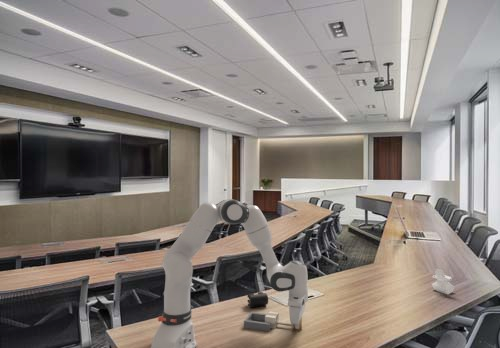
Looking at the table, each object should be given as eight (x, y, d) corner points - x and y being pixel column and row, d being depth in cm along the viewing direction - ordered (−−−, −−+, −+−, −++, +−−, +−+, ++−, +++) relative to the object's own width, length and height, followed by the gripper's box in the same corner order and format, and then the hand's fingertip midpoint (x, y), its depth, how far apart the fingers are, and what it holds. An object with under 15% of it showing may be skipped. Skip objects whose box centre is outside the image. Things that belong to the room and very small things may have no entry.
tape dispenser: (437, 286, 212) (437, 265, 212) (458, 293, 199) (458, 271, 199) (428, 288, 209) (427, 266, 209) (448, 295, 196) (448, 272, 196)
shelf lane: (269, 331, 153) (269, 324, 153) (244, 327, 157) (243, 321, 157) (275, 321, 164) (275, 315, 164) (251, 317, 168) (251, 311, 168)
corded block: (300, 332, 151) (300, 321, 151) (264, 326, 158) (264, 316, 158) (303, 327, 157) (302, 316, 157) (268, 321, 163) (268, 311, 163)
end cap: (251, 309, 178) (251, 297, 178) (246, 305, 184) (246, 292, 184) (268, 307, 181) (268, 294, 181) (263, 302, 188) (263, 290, 188)
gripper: (295, 288, 166) (295, 315, 166) (287, 303, 146) (287, 334, 146) (308, 289, 164) (308, 317, 164) (301, 304, 144) (301, 336, 144)
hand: (298, 325), depth 155 cm, fingers closed on corded block, 4 cm apart
